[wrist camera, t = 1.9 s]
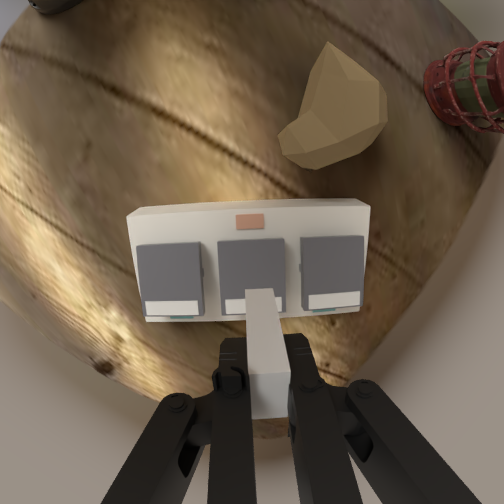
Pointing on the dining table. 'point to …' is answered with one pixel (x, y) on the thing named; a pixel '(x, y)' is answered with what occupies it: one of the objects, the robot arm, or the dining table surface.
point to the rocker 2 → (332, 272)
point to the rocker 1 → (171, 279)
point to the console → (248, 227)
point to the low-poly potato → (335, 113)
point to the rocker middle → (250, 271)
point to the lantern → (468, 87)
